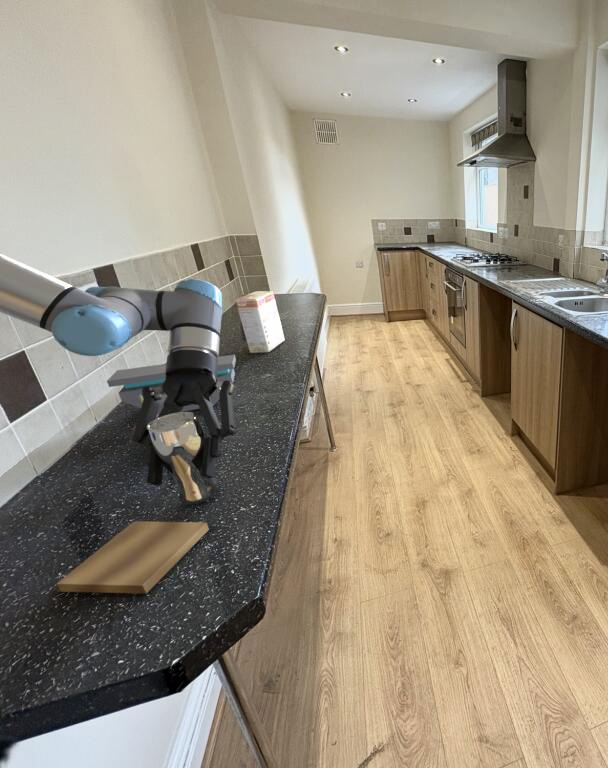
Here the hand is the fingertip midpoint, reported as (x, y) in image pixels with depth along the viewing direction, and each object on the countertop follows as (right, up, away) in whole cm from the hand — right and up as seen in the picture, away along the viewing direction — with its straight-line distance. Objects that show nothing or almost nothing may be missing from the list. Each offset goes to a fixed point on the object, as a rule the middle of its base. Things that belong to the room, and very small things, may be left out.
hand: (181, 479), depth 68 cm
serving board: (0, -10, -7) cm, 12 cm away
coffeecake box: (-37, +30, +87) cm, 99 cm away
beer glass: (-1, -4, +5) cm, 7 cm away
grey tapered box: (-31, +10, +41) cm, 52 cm away
